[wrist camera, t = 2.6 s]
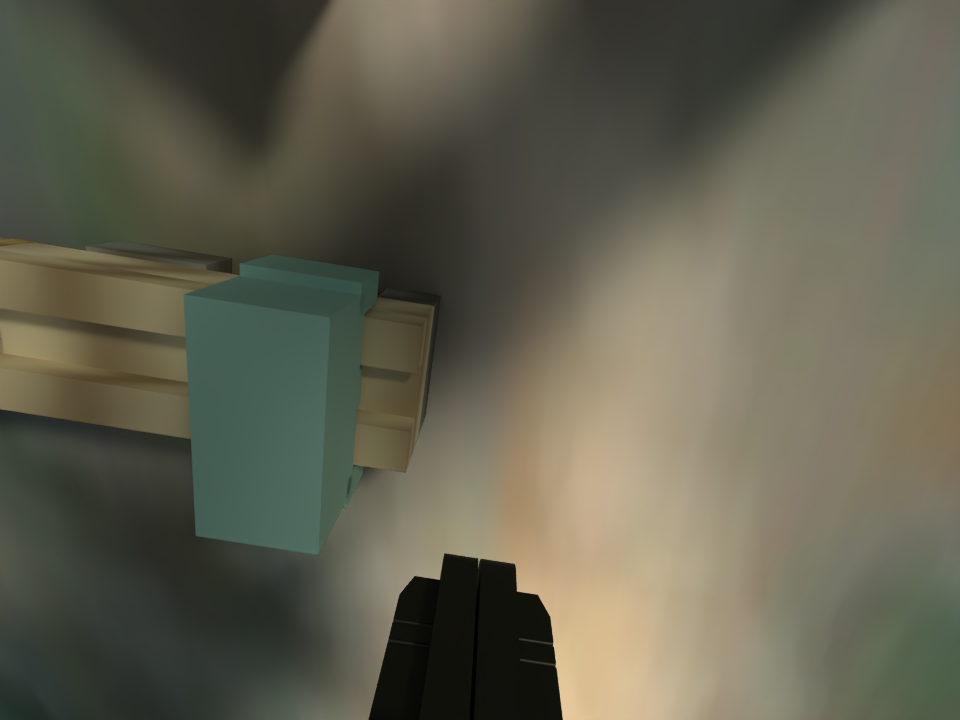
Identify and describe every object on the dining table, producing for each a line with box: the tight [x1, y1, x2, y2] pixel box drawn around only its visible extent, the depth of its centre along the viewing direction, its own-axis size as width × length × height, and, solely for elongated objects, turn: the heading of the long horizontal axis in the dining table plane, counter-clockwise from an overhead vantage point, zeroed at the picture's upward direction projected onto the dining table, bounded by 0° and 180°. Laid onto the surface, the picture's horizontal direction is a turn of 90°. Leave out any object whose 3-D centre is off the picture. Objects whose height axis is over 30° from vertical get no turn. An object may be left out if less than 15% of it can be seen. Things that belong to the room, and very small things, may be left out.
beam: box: [0, 237, 440, 473], centre depth 20 cm, size 24×6×6 cm, turn 82°
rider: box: [183, 254, 379, 555], centre depth 17 cm, size 4×9×5 cm, turn 172°
